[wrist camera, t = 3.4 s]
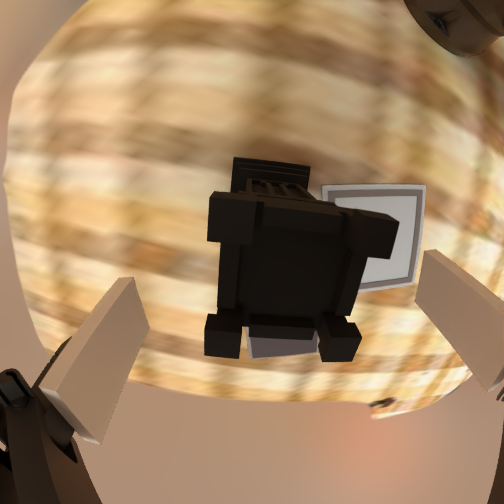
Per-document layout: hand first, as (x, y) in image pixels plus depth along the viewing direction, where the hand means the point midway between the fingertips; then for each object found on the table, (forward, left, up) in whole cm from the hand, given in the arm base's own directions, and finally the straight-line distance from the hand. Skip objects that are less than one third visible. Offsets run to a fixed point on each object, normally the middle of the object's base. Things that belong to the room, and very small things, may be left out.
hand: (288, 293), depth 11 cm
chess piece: (0, 0, -20) cm, 20 cm away
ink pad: (+18, +1, -19) cm, 26 cm away
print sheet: (+6, +13, -19) cm, 24 cm away
